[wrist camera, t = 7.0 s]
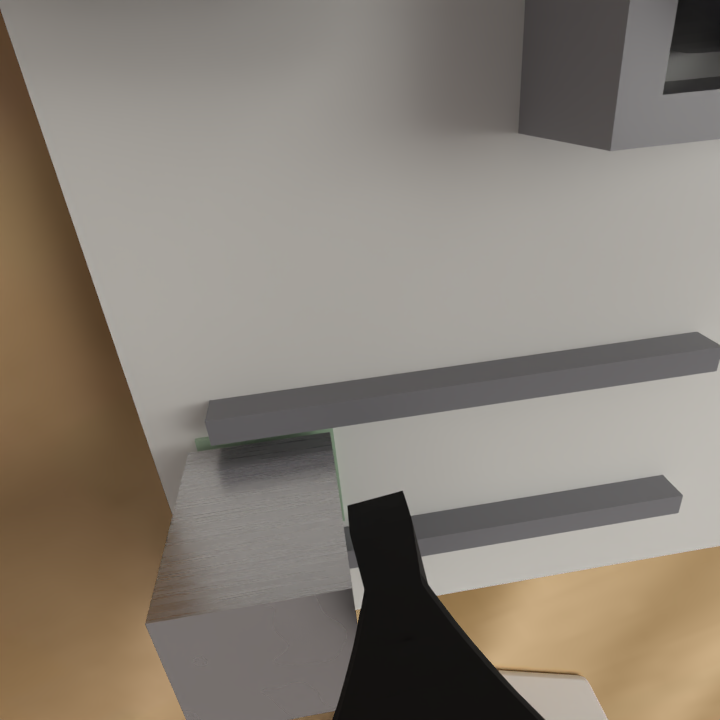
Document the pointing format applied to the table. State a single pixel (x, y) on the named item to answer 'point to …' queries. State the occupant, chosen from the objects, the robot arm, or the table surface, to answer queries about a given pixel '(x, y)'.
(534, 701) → the medicine bottle
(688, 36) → the push button
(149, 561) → the table surface
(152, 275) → the panel
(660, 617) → the table surface
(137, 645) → the table surface
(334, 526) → the slider knob
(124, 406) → the table surface
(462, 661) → the robot arm
